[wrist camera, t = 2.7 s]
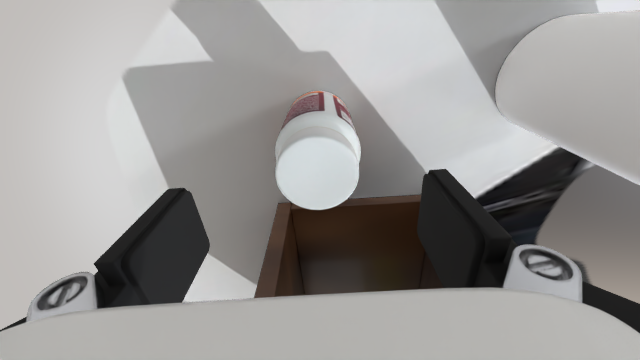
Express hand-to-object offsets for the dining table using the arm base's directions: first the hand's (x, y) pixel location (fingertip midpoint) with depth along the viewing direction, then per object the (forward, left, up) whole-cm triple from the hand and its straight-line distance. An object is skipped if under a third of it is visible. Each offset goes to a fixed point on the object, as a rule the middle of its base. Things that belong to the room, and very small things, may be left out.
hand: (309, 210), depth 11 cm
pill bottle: (0, 0, -11) cm, 11 cm away
